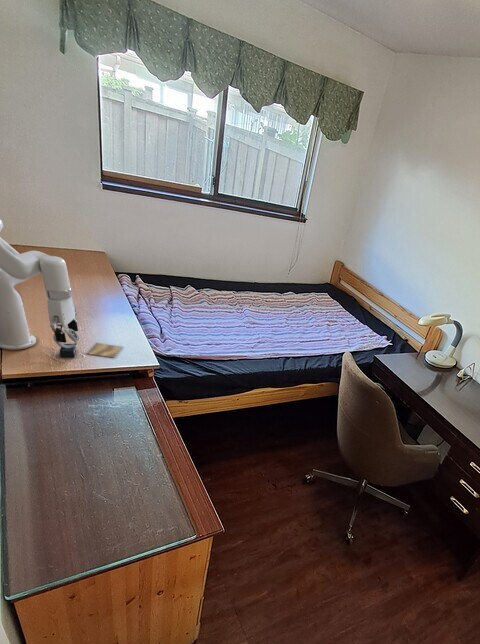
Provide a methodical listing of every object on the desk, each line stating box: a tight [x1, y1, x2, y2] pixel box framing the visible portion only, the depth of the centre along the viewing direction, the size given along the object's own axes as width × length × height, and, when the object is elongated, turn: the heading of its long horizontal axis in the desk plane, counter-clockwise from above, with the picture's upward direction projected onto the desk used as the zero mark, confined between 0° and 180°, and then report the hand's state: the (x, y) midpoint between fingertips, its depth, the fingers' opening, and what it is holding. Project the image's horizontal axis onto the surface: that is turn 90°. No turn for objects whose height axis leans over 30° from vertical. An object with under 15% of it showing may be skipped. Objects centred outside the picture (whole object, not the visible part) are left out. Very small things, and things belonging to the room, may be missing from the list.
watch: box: [53, 327, 80, 359], centre depth 147 cm, size 6×8×11 cm
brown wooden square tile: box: [87, 342, 122, 359], centre depth 157 cm, size 10×9×1 cm
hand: (67, 336), depth 146 cm, fingers open, 9 cm apart
